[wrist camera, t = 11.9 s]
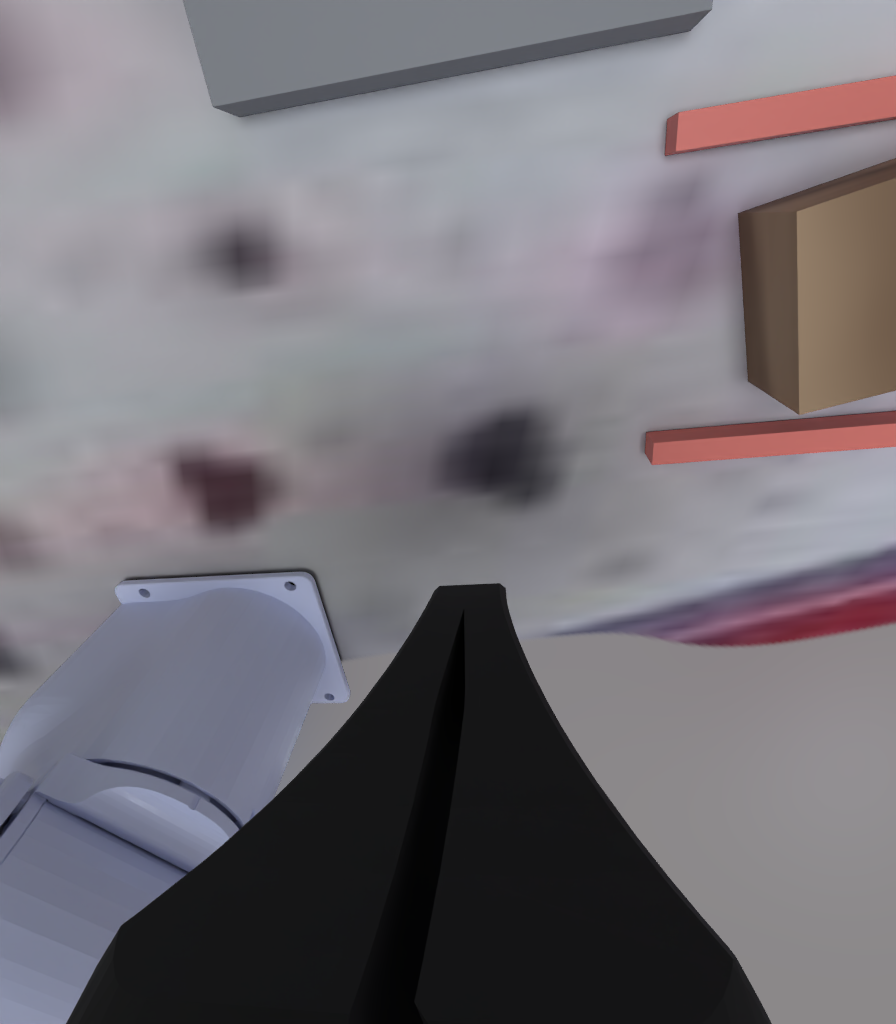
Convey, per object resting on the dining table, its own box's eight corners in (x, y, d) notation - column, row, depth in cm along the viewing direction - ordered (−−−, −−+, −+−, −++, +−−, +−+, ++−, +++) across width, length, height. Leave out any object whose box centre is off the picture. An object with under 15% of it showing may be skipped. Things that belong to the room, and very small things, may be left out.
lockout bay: (645, 453, 18) (652, 464, 17) (667, 119, 13) (678, 112, 13) (935, 430, 17) (958, 441, 16) (1072, 51, 12) (1116, 38, 11)
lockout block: (746, 379, 17) (799, 414, 14) (735, 213, 14) (796, 211, 11) (922, 330, 16) (1023, 357, 12) (940, 141, 13) (1070, 118, 10)
